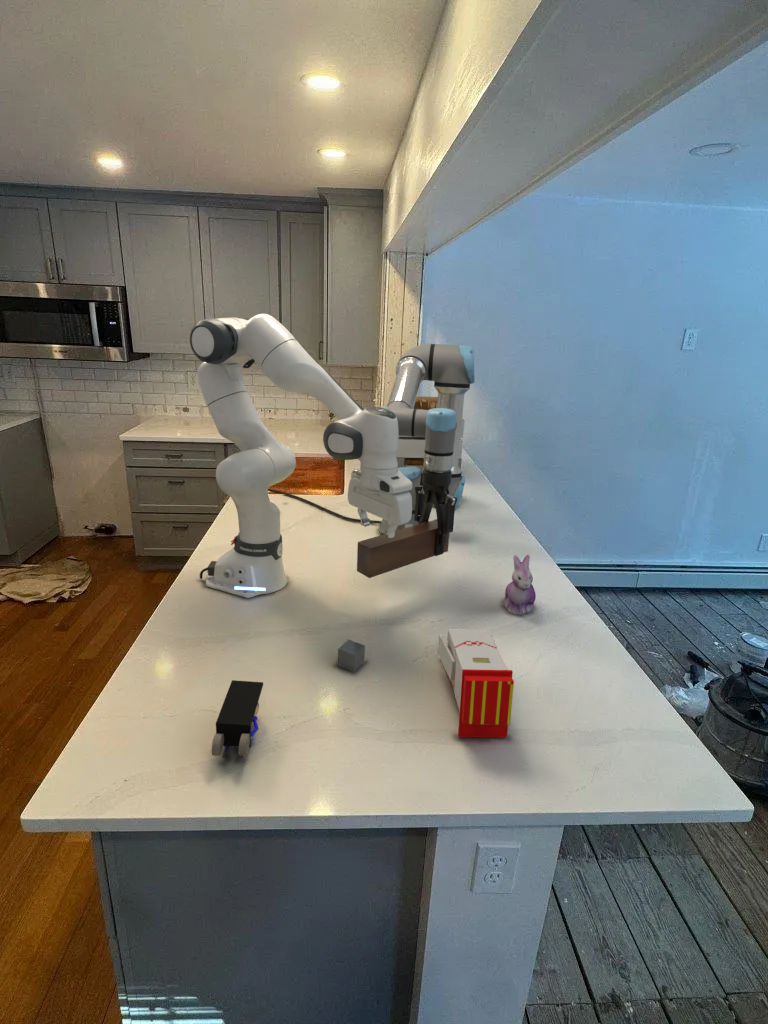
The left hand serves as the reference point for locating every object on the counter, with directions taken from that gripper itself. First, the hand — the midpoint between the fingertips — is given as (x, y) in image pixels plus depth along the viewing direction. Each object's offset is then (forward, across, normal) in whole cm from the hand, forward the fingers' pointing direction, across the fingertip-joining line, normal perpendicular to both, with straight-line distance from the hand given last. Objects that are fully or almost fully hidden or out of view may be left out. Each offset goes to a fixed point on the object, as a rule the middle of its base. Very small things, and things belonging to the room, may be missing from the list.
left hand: (377, 531), depth 139 cm
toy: (+24, +36, -4) cm, 44 cm away
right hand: (+10, 0, +20) cm, 23 cm away
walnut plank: (+11, 0, +10) cm, 15 cm away
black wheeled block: (+23, +20, -48) cm, 57 cm away
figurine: (+24, +21, +34) cm, 46 cm away
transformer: (+22, -90, +104) cm, 139 cm away
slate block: (+23, +14, -18) cm, 32 cm away
